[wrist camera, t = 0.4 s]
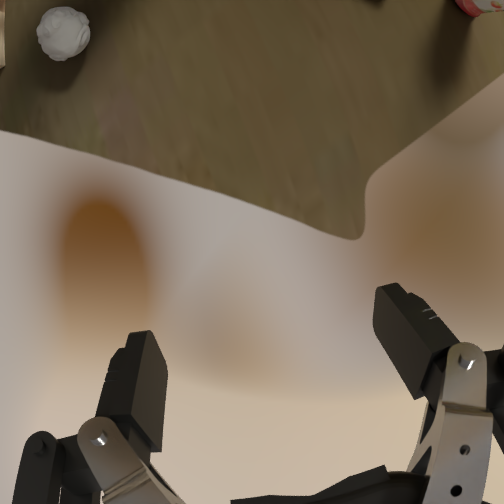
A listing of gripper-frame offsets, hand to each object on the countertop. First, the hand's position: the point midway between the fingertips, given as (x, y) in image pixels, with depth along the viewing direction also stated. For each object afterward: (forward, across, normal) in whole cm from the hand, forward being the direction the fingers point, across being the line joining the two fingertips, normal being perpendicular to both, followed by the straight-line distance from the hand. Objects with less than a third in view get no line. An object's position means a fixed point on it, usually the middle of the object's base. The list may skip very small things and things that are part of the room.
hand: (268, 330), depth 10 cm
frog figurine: (+28, +15, -21) cm, 38 cm away
